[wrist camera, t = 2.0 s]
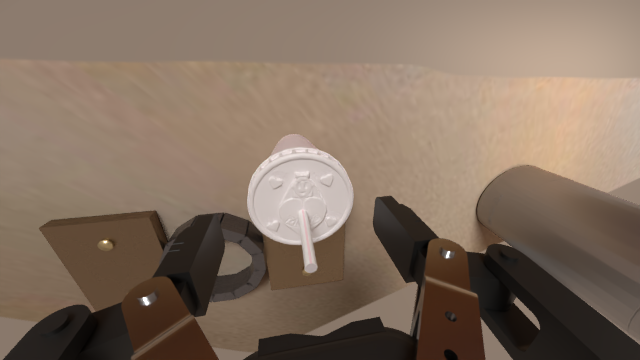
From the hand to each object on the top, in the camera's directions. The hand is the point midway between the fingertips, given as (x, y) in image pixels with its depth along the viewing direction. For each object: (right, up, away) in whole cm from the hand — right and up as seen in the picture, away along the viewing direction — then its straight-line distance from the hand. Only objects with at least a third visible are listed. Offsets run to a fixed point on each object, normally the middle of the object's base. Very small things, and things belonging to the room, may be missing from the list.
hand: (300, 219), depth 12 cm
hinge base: (-10, -6, +14) cm, 18 cm away
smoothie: (-2, +5, +11) cm, 12 cm away
